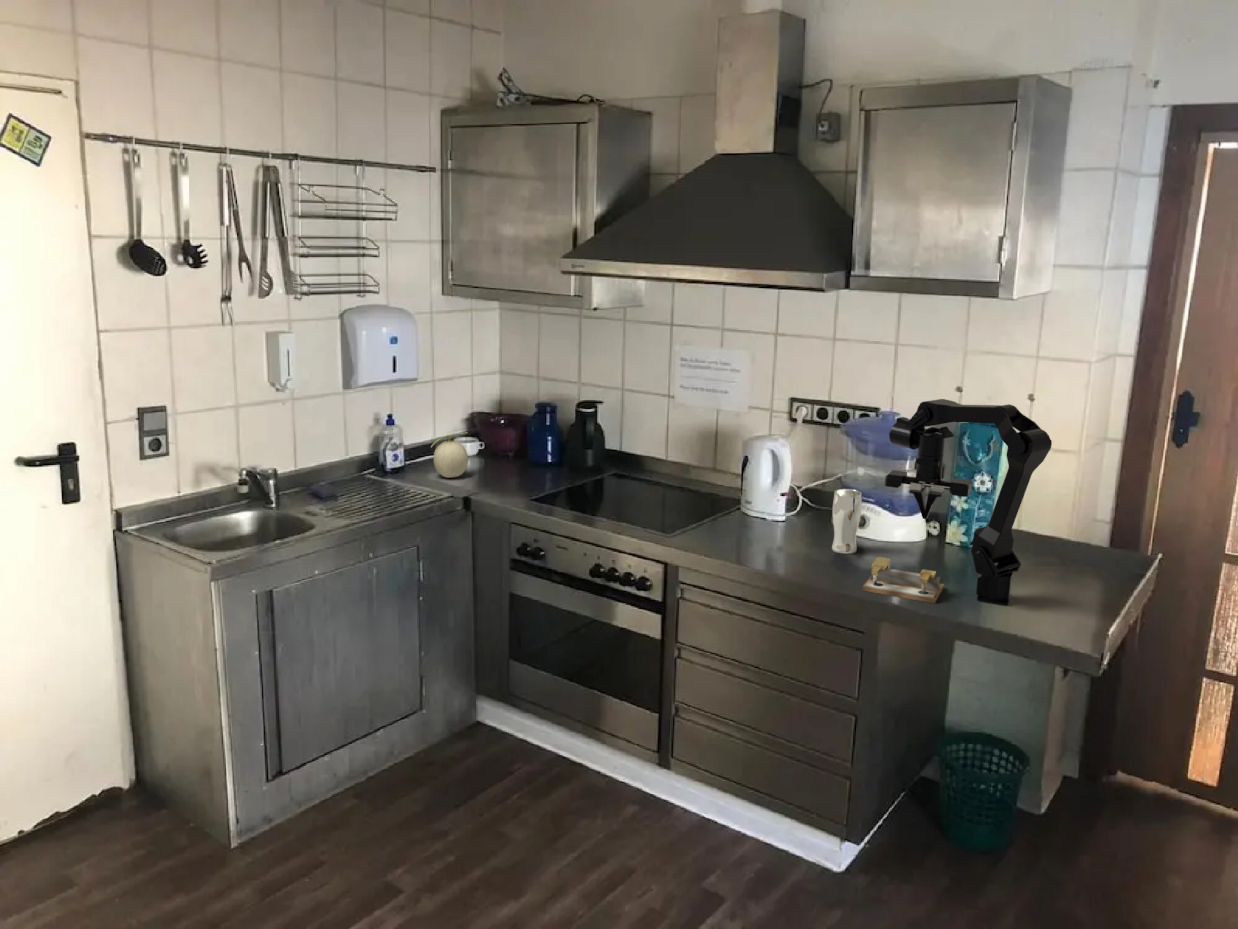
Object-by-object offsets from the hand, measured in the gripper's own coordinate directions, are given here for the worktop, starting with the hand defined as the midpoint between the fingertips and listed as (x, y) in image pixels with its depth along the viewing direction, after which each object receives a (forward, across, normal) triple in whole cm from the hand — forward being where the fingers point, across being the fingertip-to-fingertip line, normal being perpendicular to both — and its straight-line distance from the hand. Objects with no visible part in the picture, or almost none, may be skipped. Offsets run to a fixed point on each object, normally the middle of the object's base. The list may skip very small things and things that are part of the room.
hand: (924, 518), depth 240 cm
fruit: (+13, +147, -14) cm, 148 cm away
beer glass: (+13, +20, -6) cm, 25 cm away
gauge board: (+13, +1, +14) cm, 19 cm away
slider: (+12, +7, +14) cm, 19 cm away
